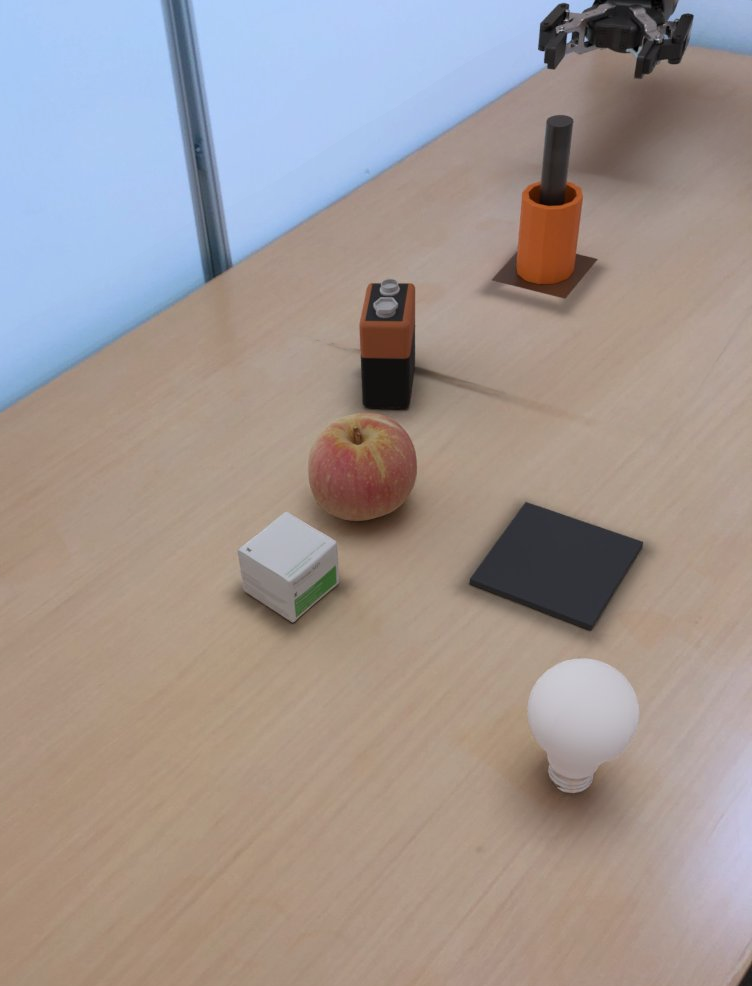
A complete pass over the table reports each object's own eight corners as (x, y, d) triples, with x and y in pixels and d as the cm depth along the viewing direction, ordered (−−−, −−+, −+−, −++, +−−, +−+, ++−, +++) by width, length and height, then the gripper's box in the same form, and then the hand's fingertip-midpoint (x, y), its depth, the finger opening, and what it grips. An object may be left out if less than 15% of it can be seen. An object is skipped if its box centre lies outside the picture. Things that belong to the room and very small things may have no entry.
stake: (596, 267, 113) (619, 109, 101) (564, 307, 109) (583, 147, 97) (524, 250, 116) (538, 95, 104) (490, 288, 112) (500, 131, 100)
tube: (582, 261, 112) (592, 186, 106) (559, 289, 109) (567, 213, 103) (531, 249, 114) (537, 175, 108) (507, 276, 111) (512, 201, 105)
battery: (361, 409, 101) (357, 315, 94) (370, 365, 105) (366, 271, 98) (409, 411, 100) (409, 315, 93) (415, 366, 105) (416, 272, 97)
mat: (642, 547, 86) (643, 541, 86) (590, 630, 81) (592, 625, 81) (525, 506, 91) (525, 501, 90) (469, 584, 86) (469, 578, 85)
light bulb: (574, 843, 70) (596, 743, 62) (497, 779, 74) (508, 677, 66) (641, 783, 73) (671, 679, 64) (563, 724, 76) (582, 619, 68)
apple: (431, 523, 90) (432, 447, 84) (329, 552, 89) (323, 477, 83) (394, 460, 96) (392, 384, 90) (297, 486, 95) (289, 411, 89)
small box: (293, 625, 85) (288, 582, 81) (241, 592, 87) (234, 548, 84) (342, 584, 87) (339, 539, 83) (290, 552, 90) (285, 507, 86)
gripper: (576, -46, 115) (526, 15, 106) (716, -37, 110) (677, 29, 101) (568, 30, 120) (520, 95, 111) (701, 43, 115) (662, 111, 106)
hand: (594, 63), depth 106 cm, fingers open, 8 cm apart
